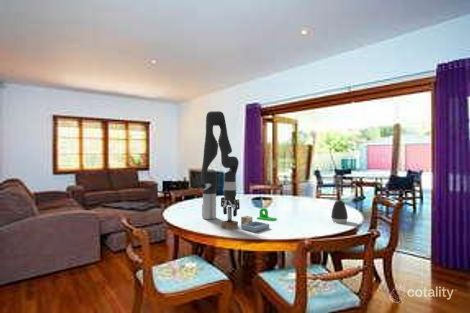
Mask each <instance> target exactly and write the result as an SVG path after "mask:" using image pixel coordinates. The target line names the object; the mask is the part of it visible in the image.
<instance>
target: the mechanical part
mask: <svg viewBox="0 0 470 313" xmlns="http://www.w3.org/2000/svg"><path fill="white" fill-rule="evenodd" d="M263 212H264V213H263ZM256 220H261V221H268V222H269V221H270V222H272V221H273V222H274V221H277V217H270V216H269V211H268V209H267V208H266V207H263V208H261V209H259V216H258V217H257V218H256Z"/></svg>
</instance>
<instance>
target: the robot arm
mask: <svg viewBox="0 0 470 313" xmlns="http://www.w3.org/2000/svg"><path fill="white" fill-rule="evenodd" d="M205 117H206V118H205V138H204V146H203V158H202V166H201V172H200V183H201V184H203V185H205V184H206V185H208V184H209V186H207V187H206V188H203V190H202V203H201V218H202V219H205V220H214V219H217V179H218V175H217V171H216V170H213V169H212V170H210V169H209V167H210V165H211V163H212V162H214V160H215V159H216V157H217V156H218V152H220V158H221V159H220V160H221V166H222V167H223V168H225V169H228V171H225V173H224V174H223V175H224V181H223V182H224V183H223V197H221V198H220V207H221V208H222V210H223V215H228V207H232V217H237V215H238V210H240V209H241V208H240V206H241V205H240V199H236V197H237V172H238V169H239V164H240V163H239V162H240V161H239V159H238V157H236V156H229V154H231V153H232V152H233V150H232V145H231V143H230V139H229V136H228V135H229V134H228V130H227V123H226V119H225V114H224V112H222V111H221V110H220V111H219V110H218V111H215V110H214V111H213V110H211V111H207V113H206V116H205ZM215 126H217V127H219V129H220V130H219V131H220V132H219V136H218V139H217V138H216V137H215V134H214V127H215ZM219 150H220V151H219ZM208 169H209V170H208Z"/></svg>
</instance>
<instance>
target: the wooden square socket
mask: <svg viewBox="0 0 470 313" xmlns="http://www.w3.org/2000/svg"><path fill="white" fill-rule="evenodd" d="M221 228H222V229H226V230H229V231H230V230H234V229H238V228H239V222H238V221H236V220H233V219H232V222H230V223H229V222H228V219H227V220H223V221H221Z"/></svg>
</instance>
